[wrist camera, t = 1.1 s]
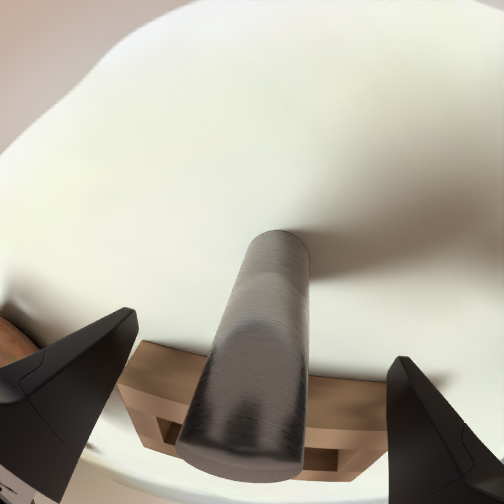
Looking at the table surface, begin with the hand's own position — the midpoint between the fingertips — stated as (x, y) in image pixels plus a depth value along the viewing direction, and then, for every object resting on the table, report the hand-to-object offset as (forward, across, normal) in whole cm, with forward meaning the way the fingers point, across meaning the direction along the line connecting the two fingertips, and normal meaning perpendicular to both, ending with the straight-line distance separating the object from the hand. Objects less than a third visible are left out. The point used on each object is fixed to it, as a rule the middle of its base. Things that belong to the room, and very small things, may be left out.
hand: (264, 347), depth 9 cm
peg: (+6, 0, 0) cm, 6 cm away
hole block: (+6, -1, +13) cm, 14 cm away
